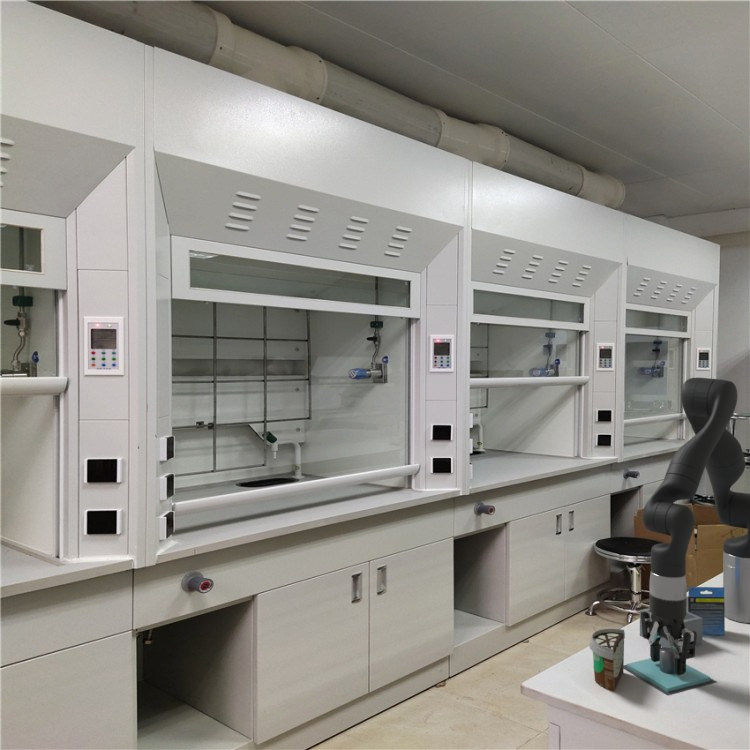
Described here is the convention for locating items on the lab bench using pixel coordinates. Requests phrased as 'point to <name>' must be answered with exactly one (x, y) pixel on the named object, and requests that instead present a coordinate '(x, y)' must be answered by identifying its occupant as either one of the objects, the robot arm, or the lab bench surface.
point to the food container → (608, 656)
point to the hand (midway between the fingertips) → (667, 667)
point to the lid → (667, 672)
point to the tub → (690, 623)
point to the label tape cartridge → (708, 608)
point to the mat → (670, 691)
